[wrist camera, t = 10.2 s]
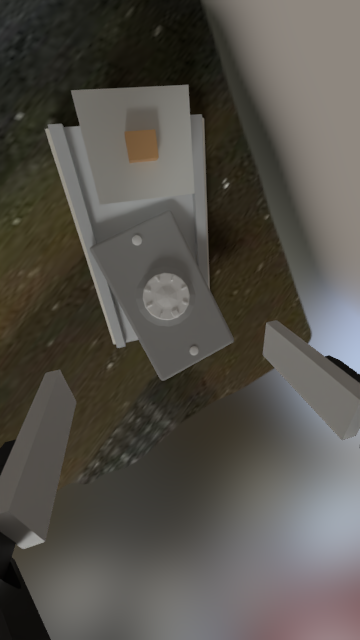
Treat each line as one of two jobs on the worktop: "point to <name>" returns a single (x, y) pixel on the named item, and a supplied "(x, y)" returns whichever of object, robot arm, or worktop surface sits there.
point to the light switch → (163, 294)
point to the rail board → (132, 174)
